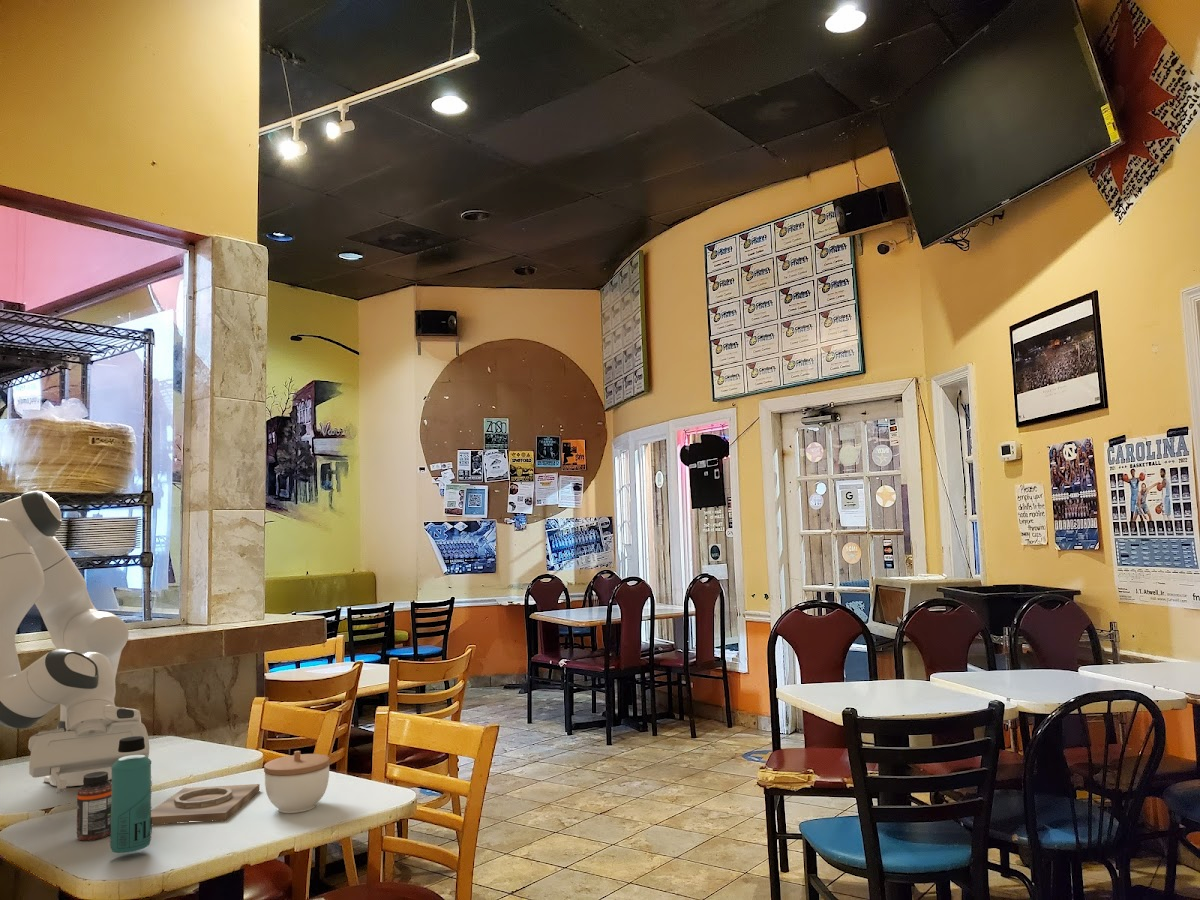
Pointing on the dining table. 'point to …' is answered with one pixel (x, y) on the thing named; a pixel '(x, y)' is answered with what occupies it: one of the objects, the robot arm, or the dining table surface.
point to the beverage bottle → (131, 798)
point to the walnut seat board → (203, 804)
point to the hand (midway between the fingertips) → (90, 786)
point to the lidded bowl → (296, 781)
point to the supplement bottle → (94, 807)
